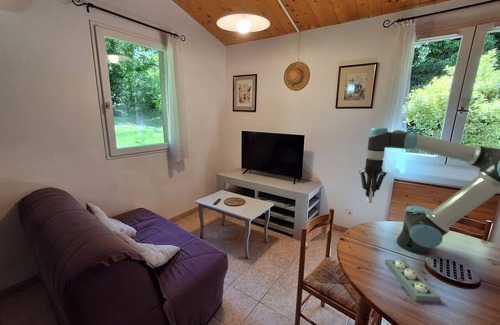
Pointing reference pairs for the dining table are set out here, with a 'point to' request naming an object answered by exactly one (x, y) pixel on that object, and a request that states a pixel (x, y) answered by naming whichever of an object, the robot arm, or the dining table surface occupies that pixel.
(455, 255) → the dining table surface
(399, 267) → the button
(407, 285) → the button board
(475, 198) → the robot arm
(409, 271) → the button
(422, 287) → the button
